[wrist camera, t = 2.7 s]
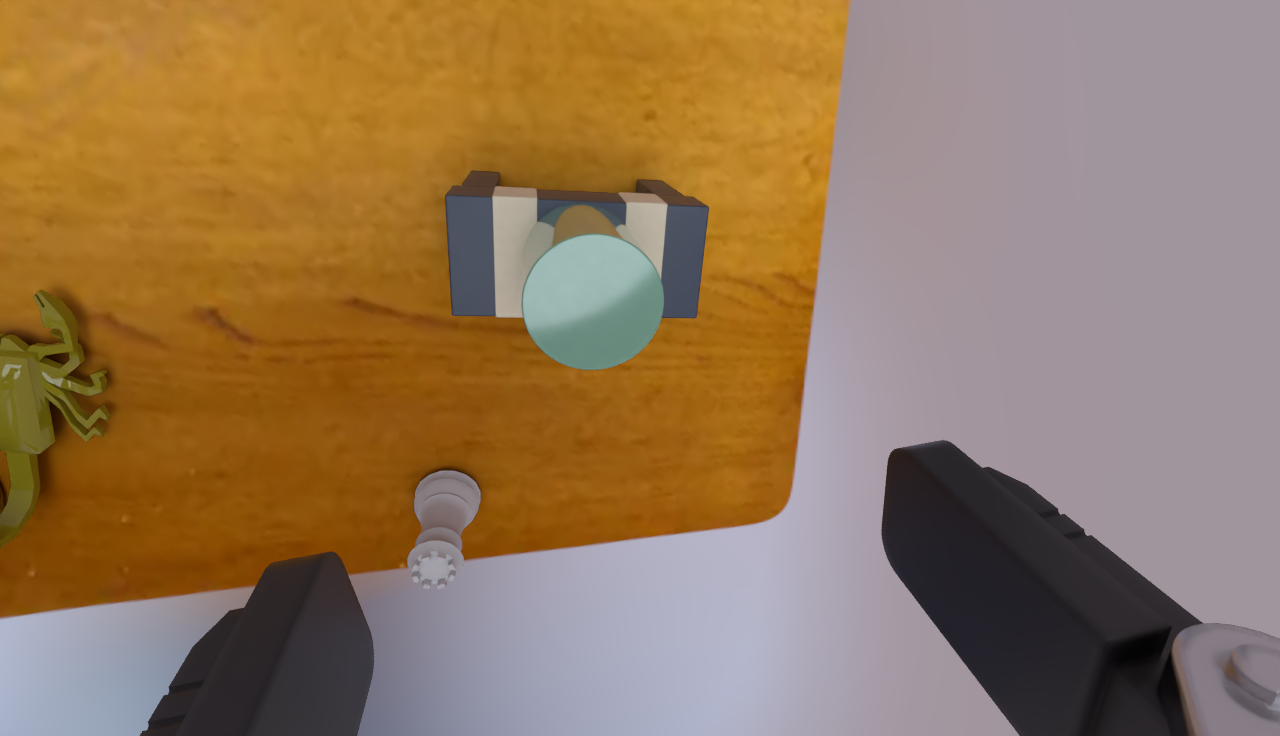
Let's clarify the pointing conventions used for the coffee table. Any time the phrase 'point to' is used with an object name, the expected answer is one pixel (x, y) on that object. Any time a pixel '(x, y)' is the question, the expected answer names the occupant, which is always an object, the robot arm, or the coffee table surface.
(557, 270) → the mint green cylinder
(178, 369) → the coffee table surface
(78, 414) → the scorpion
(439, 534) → the rook chess piece
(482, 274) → the barricade
